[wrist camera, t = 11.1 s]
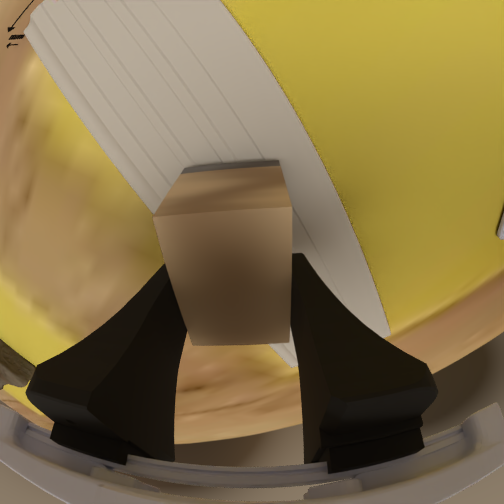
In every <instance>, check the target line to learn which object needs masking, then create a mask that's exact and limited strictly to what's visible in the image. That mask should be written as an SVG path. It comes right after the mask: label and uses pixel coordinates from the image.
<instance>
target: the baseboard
mask: <svg viewBox="0 0 504 504" xmlns="http://www.w3.org/2000/svg"><path fill="white" fill-rule="evenodd" d="M33 1H34V0H33ZM33 1H32V2H33ZM32 2H31V3H32ZM31 3H30V4H31ZM30 4H29V5H28V6H27V8H28V7H29V6H30ZM27 8H26V9H27ZM26 9H25V10H26ZM25 10H24V11H23V13H24V12H25ZM23 13H22V14H23ZM22 14H21V15H22ZM21 15H20V16H21ZM20 16H19V18H20ZM19 18H18V19H19ZM18 19H17V20H18ZM17 20H16V21H15V23H16V22H17ZM15 23H14V24H15ZM14 24H13V25H12V27H8V32H9V31H11V30H12V29H14V28H15V27H13V26H14ZM24 35H26V37H27V39H28V40H29V42H30V44H31V45H32V47H33V48H34V50H35V52H36V53H37V55H38V56H39V58H40V60H41V61H42V63H43V64H44V66H45V67H46V69H47V71H48V72H49V74H50V75H51V77H52V78H53V80H54V81H55V83H56V84H57V86H58V87H59V89H60V90H61V92H62V93H63V95H64V96H65V98H66V99H67V100H68V102H69V103H70V105H71V106H72V108H73V109H74V111H75V112H76V113H77V115H78V116H79V118H80V119H81V120H82V122H83V123H84V125H85V126H86V127H87V129H88V130H89V132H90V133H91V134H92V136H93V137H94V138H95V140H96V141H97V142H98V144H99V145H100V146H101V148H102V149H103V151H104V152H105V153H106V155H107V156H108V157H109V158H110V160H111V161H112V162H113V164H114V165H115V166H116V168H117V169H118V170H119V172H120V173H121V174H122V175H123V177H124V178H125V179H126V181H127V182H128V183H129V184H130V186H131V187H132V188H133V189H134V191H135V192H136V193H137V195H138V196H139V197H140V198H141V200H142V201H143V202H144V203H145V205H146V206H147V207H148V208H149V209H150V211H151V212H152V213H153V214H155V212H156V210H157V209H158V207H159V206H160V204H161V202H162V201H163V199H164V198H165V196H166V195H167V193H168V192H169V190H170V189H171V187H172V186H173V184H174V183H175V181H176V180H177V178H178V177H179V175H180V174H181V172H182V171H183V169H184V168H188V167H197V166H206V165H216V164H228V163H240V162H255V161H273V160H279V162H280V165H281V169H282V172H283V176H284V179H285V183H286V186H287V190H288V194H289V197H290V201H291V205H292V253H303V254H304V255H305V256H306V258H307V260H308V261H309V263H310V264H311V266H312V267H313V268H314V270H315V271H316V273H317V274H318V275H319V277H320V278H321V279H322V280H323V282H324V283H325V284H326V285H327V287H328V288H329V289H330V290H331V291H332V293H333V294H334V295H335V296H336V297H337V298H338V299H339V300H340V301H341V302H342V304H343V305H344V306H345V307H346V308H347V309H348V310H349V311H350V312H352V313H353V314H354V315H355V316H356V317H357V318H358V319H359V320H360V321H361V322H363V323H364V324H365V325H366V326H367V327H369V328H370V329H371V330H373V331H374V332H375V333H377V334H378V335H379V336H381V337H382V338H385V337H387V336H389V335H391V332H390V328H389V325H388V322H387V319H386V316H385V313H384V310H383V307H382V304H381V301H380V298H379V295H378V292H377V289H376V286H375V284H374V281H373V278H372V275H371V273H370V270H369V267H368V265H367V262H366V259H365V257H364V254H363V252H362V249H361V247H360V244H359V242H358V239H357V237H356V235H355V232H354V230H353V227H352V225H351V223H350V220H349V218H348V216H347V213H346V211H345V209H344V207H343V205H342V202H341V200H340V198H339V196H338V194H337V191H336V189H335V187H334V185H333V183H332V181H331V179H330V177H329V175H328V173H327V171H326V169H325V167H324V164H323V163H322V161H321V159H320V157H319V155H318V153H317V151H316V149H315V147H314V145H313V143H312V141H311V139H310V137H309V136H308V134H307V132H306V130H305V128H304V126H303V125H302V123H301V121H300V119H299V117H298V116H297V114H296V112H295V110H294V109H293V107H292V105H291V104H290V102H289V100H288V98H287V97H286V95H285V93H284V92H283V90H282V88H281V87H280V85H279V84H278V82H277V80H276V79H275V77H274V76H273V74H272V72H271V71H270V69H269V68H268V66H267V65H266V63H265V62H264V60H263V59H262V57H261V56H260V54H259V53H258V51H257V50H256V48H255V47H254V45H253V44H252V42H251V41H250V39H249V38H248V37H247V35H246V34H245V32H244V31H243V30H242V28H241V27H240V25H239V24H238V23H237V21H236V20H235V19H234V17H233V16H232V15H231V13H230V12H229V11H228V9H227V8H226V7H225V6H224V4H223V3H222V2H221V1H220V0H44V1H43V2H42V3H41V4H39V5H38V7H37V8H36V9H35V10H34V11H33V12H32V14H31V15H30V23H29V25H28V26H27V28H26V29H25V30H24ZM24 35H14V36H15V37H16V36H17V37H18V38H19V37H20V38H21V39H22V38H23V37H24ZM12 36H13V35H12ZM12 36H11V37H12ZM14 36H13V37H14ZM11 37H10V38H9V40H10V39H11V40H12V39H18V38H17V37H16V38H15V37H14V38H13V37H12V38H11ZM20 38H19V39H20ZM10 44H11V43H9V44H8V45H7V48H8V47H9V46H10ZM12 45H18V44H12ZM269 345H270V346H271V347H272V348H273V349H274V350H275V351H276V352H277V354H278V355H279V356H280V357H281V358H282V359H283V360H284V361H285V362H286V363H287V364H288V365H289V366H290V367H291V368H293V367H295V366H298V361H297V356H296V351H295V346H294V341H293V337H292V332H291V327H290V342H289V343H277V344H269Z"/></svg>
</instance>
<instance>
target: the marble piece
mask: <svg viewBox="0 0 504 504" xmlns="http://www.w3.org/2000/svg"><path fill="white" fill-rule="evenodd" d="M35 369H36V368H35V366H34V365H33V364H31V363H30V362H28V361H27V360H26V359H24V358H23V357H22V356H21V355H19V354H18V353H17V352H16V351H14V350H13V349H12V348H11V347H9V346H8V345H7V344H6V343H4V342H3V341H2V340H1V339H0V390H1V389H3V386H4V385H6V384H10V385H14V386H17V387H24V386H26V385H27V383H28V382H29V380H31V378H32V376H33V374H34V371H35Z"/></svg>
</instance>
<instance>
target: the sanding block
mask: <svg viewBox="0 0 504 504" xmlns="http://www.w3.org/2000/svg"><path fill="white" fill-rule="evenodd" d="M152 218H153V222H154V225H155V229H156V233H157V237H158V240H159V244H160V247H161V251H162V254H163V258H164V261H165V264H166V268H167V271H168V274H169V277H170V281H171V284H172V287H173V290H174V293H175V296H176V299H177V302H178V305H179V308H180V311H181V314H182V317H183V320H184V323H185V325H186V328H187V331H188V334H189V336H190V339H191V342H192V345H199V346H214V345H256V344H277V343H289V342H290V317H291V282H292V205H291V201H290V197H289V194H288V190H287V186H286V183H285V179H284V176H283V172H282V169H281V165H280V162H279V160H273V161H255V162H240V163H228V164H216V165H206V166H197V167H188V168H184V169H183V171H182V172H181V174H180V175H179V177H178V178H177V180H176V181H175V183H174V184H173V186H172V187H171V189H170V190H169V192H168V193H167V195H166V196H165V198H164V199H163V201H162V202H161V204H160V206H159V207H158V209H157V210H156V212H155V214H154V215H153V217H152Z"/></svg>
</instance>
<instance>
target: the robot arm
mask: <svg viewBox="0 0 504 504" xmlns="http://www.w3.org/2000/svg"><path fill="white" fill-rule="evenodd" d="M497 236H498V237H499V238H500V239H501V240H502V239H504V213H503V216H502V219H501V223H500V226H499V229H498V232H497ZM290 327H291V332H292V337H293V341H294V346H295V351H296V356H297V361H298V368H299V377H300V389H301V402H302V418H303V437H304V438H303V439H304V464H301V465H290V466H275V467H221V466H220V467H219V466H204V465H193V464H183V463H175V462H174V460H175V453H174V413H175V397H176V385H177V375H178V369H179V363H180V359H181V355H182V351H183V346H184V342H185V338H186V334H187V328H186V325H185V323H184V320H183V317H182V314H181V311H180V308H179V305H178V302H177V299H176V296H175V293H174V290H173V287H172V284H171V281H170V277H169V274H168V271H167V268H166V264H164V265H163V266H162V267H161V268H160V269H159V270H158V271H157V272H156V273H155V274H154V275H153V277H152V278H151V279H150V280H149V281H148V282H147V283H146V284H145V285H144V286H143V287H142V288H141V290H140V291H139V292H138V293H137V294H136V295H135V296H134V297H133V298H132V299H131V300H130V301H129V302H128V303H127V304H126V305H125V306H124V307H123V308H122V309H121V310H120V311H118V312H117V313H116V314H115V315H114V316H113V317H112V318H110V319H109V320H108V321H107V322H106V323H105V324H103V325H102V326H101V327H99V328H98V329H97V330H95V331H94V332H93V333H91V334H90V335H89V336H87V337H86V338H84V339H83V340H82V341H80V342H79V343H77V344H75V345H74V346H72V347H71V348H69V349H67V350H66V351H64V352H62V353H60V354H59V355H57V356H55V357H53V358H51V359H49V360H47V361H45V362H43V363H41V364H38V365H37V367H36V369H35V371H34V374H33V376H32V378H31V380H30V383H29V385H28V388H27V390H26V392H25V393H26V395H27V398H28V399H29V401H30V402H31V403H32V404H33V405H34V406H35V407H37V408H38V409H39V410H40V411H41V412H43V413H44V414H45V415H46V416H48V417H49V418H50V419H51V420H53V421H54V425H53V429H52V431H50V430H47V429H45V428H42V427H40V426H37V425H35V424H33V423H30V422H28V420H27V419H26V418H24V417H23V416H22V415H20V414H19V413H17V412H16V411H14V410H12V409H10V408H8V407H6V406H4V405H2V404H0V461H1V462H3V463H4V464H5V465H7V466H8V467H9V468H11V469H12V470H13V471H15V472H16V473H18V474H19V475H21V476H22V477H24V478H25V479H26V480H28V481H30V482H32V483H33V484H34V485H36V486H37V487H39V488H41V489H42V490H44V491H46V492H47V493H49V494H51V495H53V496H54V497H56V498H58V499H60V500H61V501H63V502H65V503H67V504H438V503H440V502H442V501H444V500H446V499H448V498H450V497H452V496H453V495H455V494H457V493H459V492H461V491H463V490H464V489H466V488H468V487H469V486H471V485H473V484H475V483H476V482H478V481H479V480H481V479H483V478H484V477H486V476H488V475H489V474H491V473H492V472H494V471H495V470H497V469H498V468H500V467H501V466H503V465H504V418H503V415H502V413H501V410H500V407H499V405H498V403H497V402H495V403H494V404H492V405H490V406H488V407H486V408H483V409H481V410H479V411H477V412H476V413H474V414H472V415H471V416H469V417H468V418H467V419H465V420H464V422H462V424H460V425H458V426H455V427H453V428H450V429H448V430H445V431H443V432H440V433H437V434H435V435H432V436H429V437H426V438H424V439H423V438H422V435H421V430H420V427H422V426H423V421H422V418H421V414H422V413H423V412H424V411H425V410H426V409H427V408H428V407H429V406H430V405H431V404H432V403H433V401H434V400H435V399H436V397H437V394H438V389H437V386H436V384H435V381H434V378H433V376H432V374H431V372H430V370H429V368H428V366H427V364H426V363H424V362H422V361H420V360H418V359H417V358H415V357H413V356H411V355H409V354H407V353H405V352H404V351H402V350H400V349H399V348H397V347H395V346H394V345H392V344H391V343H389V342H388V341H386V340H385V339H383V338H382V337H381V336H379V335H378V334H377V333H375V332H374V331H373V330H371V329H370V328H369V327H367V326H366V325H365V324H364V323H363V322H361V321H360V320H359V319H358V318H357V317H356V316H355V315H354V314H353V313H352V312H350V311H349V310H348V309H347V308H346V307H345V306H344V305H343V304H342V302H341V301H340V300H339V299H338V298H337V297H336V296H335V295H334V294H333V293H332V291H331V290H330V289H329V288H328V287H327V285H326V284H325V283H324V282H323V280H322V279H321V278H320V277H319V275H318V274H317V273H316V271H315V270H314V268H313V267H312V266H311V264H310V263H309V261H308V260H307V258H306V256H305V255H304V254H303V253H292V282H291V317H290ZM114 470H115V471H119V472H123V473H127V474H131V475H136V476H140V477H145V478H150V479H155V480H161V481H167V482H173V483H180V484H188V485H198V486H209V487H224V488H275V487H292V486H303V485H312V484H319V483H327V482H333V481H338V482H333V483H329V484H324V485H319V486H314V487H310V488H309V489H308V492H307V493H305V494H304V500H296V501H272V502H250V501H246V502H245V501H225V500H211V499H201V498H192V497H184V496H177V495H170V494H164V493H160V489H159V488H157V487H153V486H151V485H148V484H145V483H143V482H140V481H138V480H137V479H135V478H132V477H129V476H126V475H122V474H119V473H116V472H114ZM350 478H351V479H350ZM345 479H346V480H345ZM339 480H342V481H339Z"/></svg>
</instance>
